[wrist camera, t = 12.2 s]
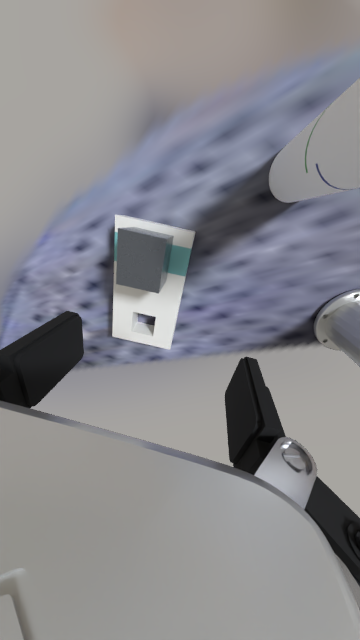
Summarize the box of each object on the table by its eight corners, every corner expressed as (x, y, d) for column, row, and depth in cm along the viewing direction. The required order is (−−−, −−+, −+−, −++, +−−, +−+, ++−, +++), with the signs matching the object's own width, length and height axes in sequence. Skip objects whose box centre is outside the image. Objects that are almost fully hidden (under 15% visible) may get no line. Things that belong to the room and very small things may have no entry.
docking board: (125, 215, 31) (115, 214, 27) (195, 231, 31) (194, 232, 27) (120, 326, 41) (112, 336, 38) (172, 338, 41) (169, 349, 38)
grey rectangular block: (177, 234, 31) (166, 239, 22) (170, 274, 35) (158, 293, 25) (142, 226, 31) (117, 228, 22) (139, 267, 35) (116, 283, 25)
